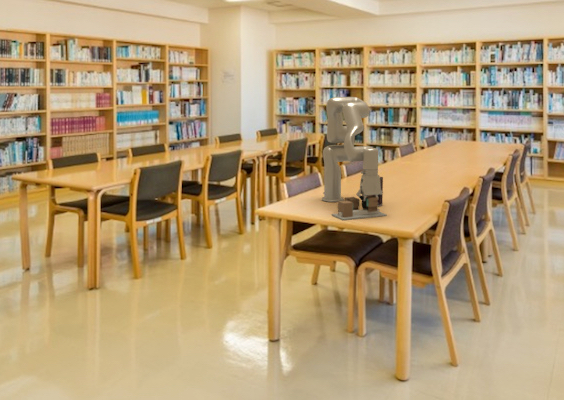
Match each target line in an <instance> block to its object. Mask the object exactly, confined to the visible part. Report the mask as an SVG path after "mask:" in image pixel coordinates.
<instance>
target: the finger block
mask: <svg viewBox="0 0 564 400" xmlns="http://www.w3.org/2000/svg"><path fill="white" fill-rule="evenodd" d="M365 201H366V209H368V212H372V211H377V208H378V206H377V204H378V197H375V196H372V195H370V196H367V197H366V200H365ZM362 209H364V208H362Z"/></svg>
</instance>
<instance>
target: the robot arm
mask: <svg viewBox="0 0 564 400" xmlns="http://www.w3.org/2000/svg"><path fill="white" fill-rule="evenodd" d="M325 110H326V115H327V116H326V117H327V123H326V125H327V127H326V140H327V142H328V143H331V144H332V145H331V144H330V145H327V146H326V147H324V148H323V150H322V157H323V162H324V163H323V165H324V166H323V167H324V171H323V172H324V178H323V179H324V182H323V183H324V186H323V187H324V189H323V190H324V191H323V193H322V194H323V195H324V196H322V197H321V201H323V202H328V203H338V201H344V197H342V168H341V167H340V165H339V164H338V163H339V162H343V163H344V162H350V161H351V162H362V170H361V171H360V173H361V174H362V175H361V176H360V177H361V178H360V182H359V183H360V184H359V190H358V191H356V196H357V197H358V199H359V200H361V208H362V209H363V208H364V209H366V201H365V200H366V197H367V196H369V195H373V196H375V197H378V199H379V197H380V196H381V195H382V193H383V194H384V190H383V191H382V190H381V183H380V177H381V176H380V174H379V149H378V148H375V147H372V146H369V145H364V146H363V145H361V146H355V139H356V137H355V136H357V135H358V134H360V133H362V132H363V130H364V129H365V126H364V123H363V119H365V118H367V117H369V114H370V108H369V104H367V102H365V101H364V100H362V99H360V98H359V97H357V96H336V97H335V96H334V97H331V98H329V99H328V100H327V102H326V107H325ZM344 121H345V125H343V124H344Z"/></svg>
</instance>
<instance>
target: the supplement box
mask: <svg viewBox="0 0 564 400" xmlns="http://www.w3.org/2000/svg"><path fill="white" fill-rule="evenodd" d="M380 183H381V190H382V191H383V193H382V195H381V196H380V197H379V199H378V204H377V207H381V206H383V195H384V190H383V188H384V185H383V184H384V177H383V176H380ZM369 196H370V195H369ZM372 196H373V195H372Z"/></svg>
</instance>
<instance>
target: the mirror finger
mask: <svg viewBox="0 0 564 400" xmlns="http://www.w3.org/2000/svg"><path fill="white" fill-rule="evenodd" d="M360 200H361V199H360V198H359V197H358V198H357V197H354V196H351V197H350V196H349V197H344V201H350V202H352V203H353V210H360V202H361V201H360Z"/></svg>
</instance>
